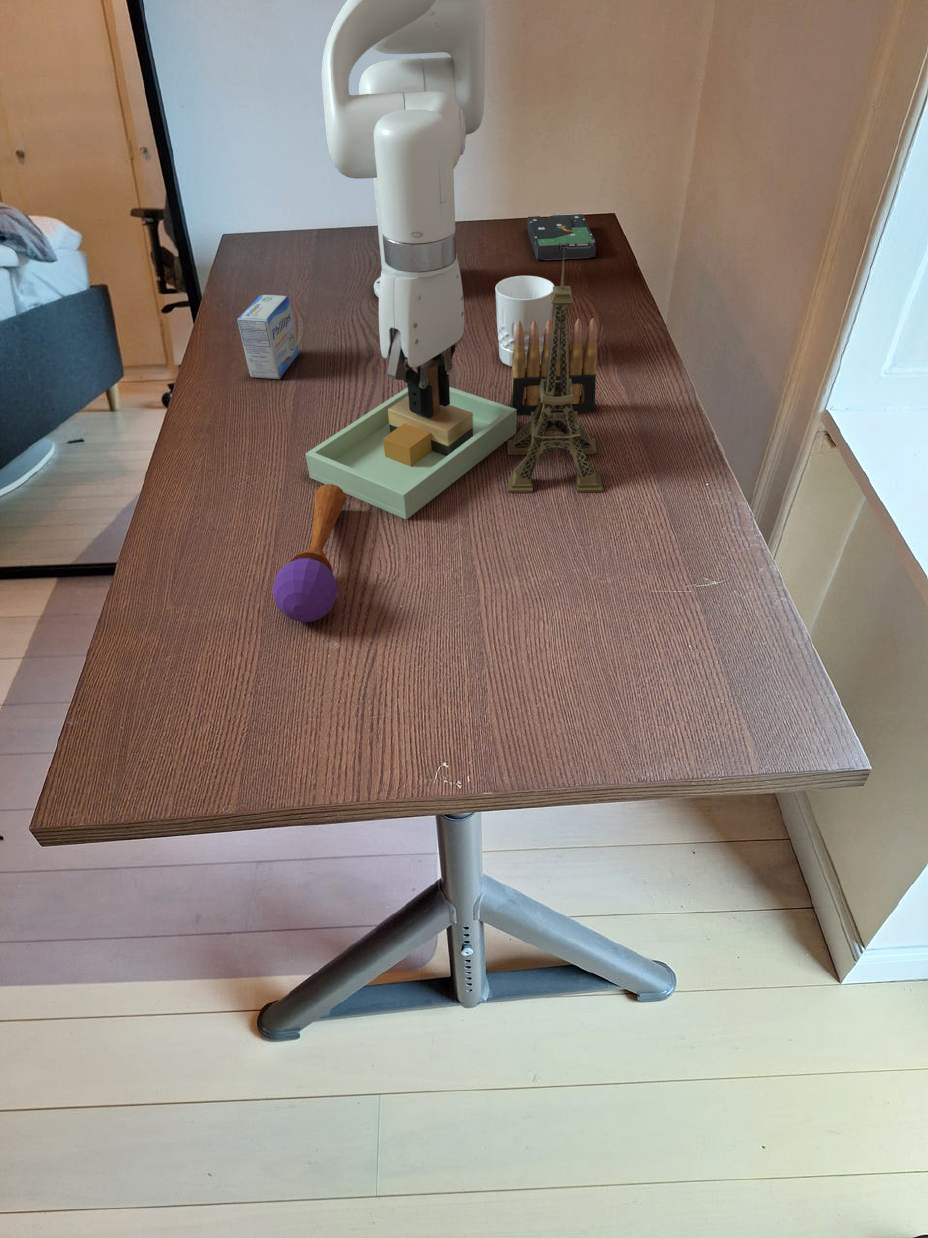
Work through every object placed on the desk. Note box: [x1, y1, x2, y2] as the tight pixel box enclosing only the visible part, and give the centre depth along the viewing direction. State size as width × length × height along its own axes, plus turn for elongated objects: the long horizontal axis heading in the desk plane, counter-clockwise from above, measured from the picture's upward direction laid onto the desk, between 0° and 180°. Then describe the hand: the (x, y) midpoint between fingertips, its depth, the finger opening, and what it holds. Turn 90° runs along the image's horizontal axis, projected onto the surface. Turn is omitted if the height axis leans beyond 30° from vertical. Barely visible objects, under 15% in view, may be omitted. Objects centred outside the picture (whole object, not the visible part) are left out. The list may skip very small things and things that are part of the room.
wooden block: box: [383, 423, 432, 466], centre depth 100 cm, size 4×4×2 cm
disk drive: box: [526, 213, 597, 261], centre depth 150 cm, size 10×3×15 cm
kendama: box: [272, 484, 347, 623], centre depth 86 cm, size 6×6×20 cm
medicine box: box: [237, 294, 300, 380], centre depth 117 cm, size 8×4×9 cm, turn 168°
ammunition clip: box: [509, 317, 598, 416], centre depth 105 cm, size 11×2×12 cm, turn 92°
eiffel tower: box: [507, 247, 603, 494], centre depth 91 cm, size 11×11×25 cm
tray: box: [305, 386, 517, 520], centre depth 101 cm, size 22×15×3 cm
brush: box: [388, 360, 473, 456], centre depth 100 cm, size 5×9×10 cm, turn 54°
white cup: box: [494, 275, 555, 369], centre depth 116 cm, size 8×8×10 cm
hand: (429, 407), depth 101 cm, fingers closed on brush, 2 cm apart
